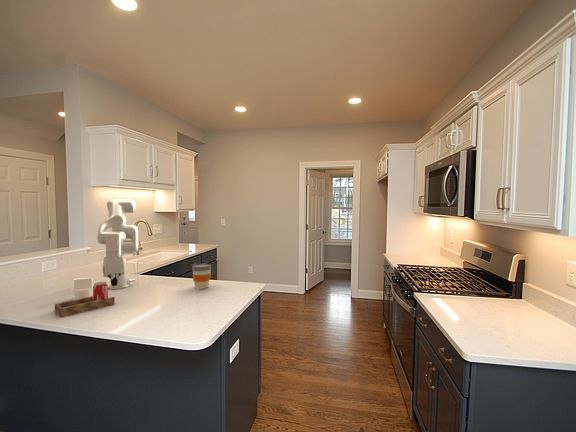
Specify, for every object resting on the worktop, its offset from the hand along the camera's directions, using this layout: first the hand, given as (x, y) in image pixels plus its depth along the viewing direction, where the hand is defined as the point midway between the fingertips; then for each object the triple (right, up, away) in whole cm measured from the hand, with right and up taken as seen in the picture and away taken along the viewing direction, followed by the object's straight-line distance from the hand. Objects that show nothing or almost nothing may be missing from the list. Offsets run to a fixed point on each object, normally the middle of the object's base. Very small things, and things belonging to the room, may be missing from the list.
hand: (114, 285), depth 161 cm
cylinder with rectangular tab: (-22, -9, +6) cm, 24 cm away
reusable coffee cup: (+42, -9, +30) cm, 52 cm away
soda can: (-4, -10, -5) cm, 12 cm away
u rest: (-9, -9, -10) cm, 17 cm away
